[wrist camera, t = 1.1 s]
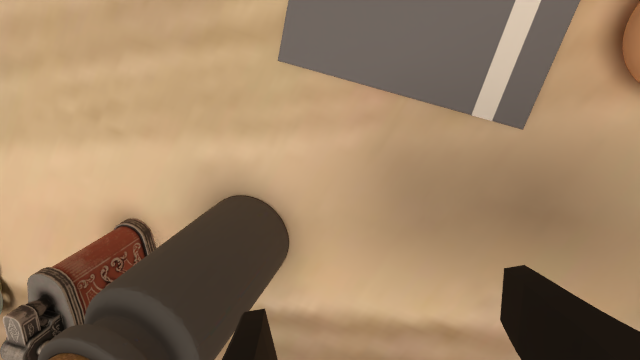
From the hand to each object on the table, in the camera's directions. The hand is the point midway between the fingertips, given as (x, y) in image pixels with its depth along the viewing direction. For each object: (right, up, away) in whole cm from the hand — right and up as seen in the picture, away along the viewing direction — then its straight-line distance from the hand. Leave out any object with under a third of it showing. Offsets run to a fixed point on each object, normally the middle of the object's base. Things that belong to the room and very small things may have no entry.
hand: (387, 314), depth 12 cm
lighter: (-15, -2, +19) cm, 24 cm away
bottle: (-7, 0, +15) cm, 16 cm away
